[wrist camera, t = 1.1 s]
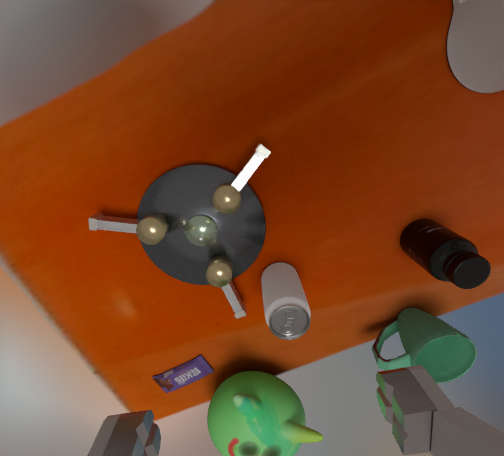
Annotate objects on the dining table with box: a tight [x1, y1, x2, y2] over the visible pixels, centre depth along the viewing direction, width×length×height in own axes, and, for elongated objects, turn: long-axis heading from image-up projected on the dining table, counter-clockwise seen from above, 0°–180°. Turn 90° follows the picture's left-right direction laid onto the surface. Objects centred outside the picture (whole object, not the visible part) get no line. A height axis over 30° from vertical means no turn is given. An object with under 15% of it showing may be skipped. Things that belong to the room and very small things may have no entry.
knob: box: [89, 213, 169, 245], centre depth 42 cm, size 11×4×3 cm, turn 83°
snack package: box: [153, 356, 214, 393], centre depth 56 cm, size 12×2×5 cm
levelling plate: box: [137, 163, 266, 285], centre depth 44 cm, size 20×20×3 cm
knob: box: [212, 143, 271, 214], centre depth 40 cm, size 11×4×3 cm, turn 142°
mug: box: [372, 308, 477, 383], centre depth 49 cm, size 15×10×10 cm
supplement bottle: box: [401, 220, 491, 289], centre depth 42 cm, size 7×7×12 cm
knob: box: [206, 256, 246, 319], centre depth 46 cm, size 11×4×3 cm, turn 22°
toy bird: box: [207, 371, 323, 456], centre depth 51 cm, size 18×17×15 cm
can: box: [261, 262, 311, 340], centre depth 44 cm, size 6×6×12 cm
